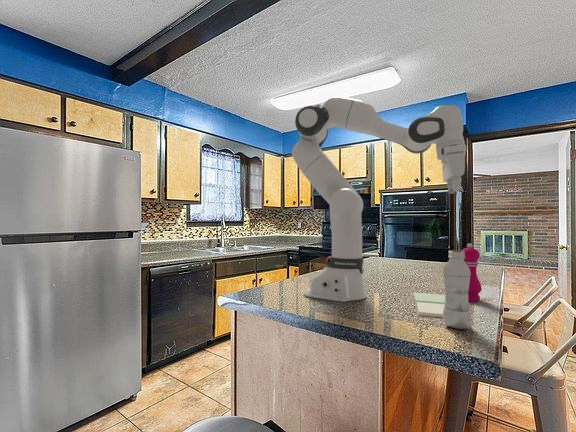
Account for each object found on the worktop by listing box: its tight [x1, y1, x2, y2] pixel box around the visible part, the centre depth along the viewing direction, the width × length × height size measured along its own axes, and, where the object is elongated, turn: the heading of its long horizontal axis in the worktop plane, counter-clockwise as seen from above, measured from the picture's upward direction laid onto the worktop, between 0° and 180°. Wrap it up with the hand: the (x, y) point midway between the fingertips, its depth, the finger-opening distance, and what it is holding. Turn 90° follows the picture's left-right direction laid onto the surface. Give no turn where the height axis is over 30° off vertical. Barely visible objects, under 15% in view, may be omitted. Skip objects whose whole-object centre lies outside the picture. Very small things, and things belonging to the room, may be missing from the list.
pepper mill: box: [461, 243, 483, 303], centre depth 111 cm, size 7×7×20 cm
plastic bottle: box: [442, 250, 472, 330], centre depth 82 cm, size 6×7×20 cm
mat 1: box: [413, 292, 445, 304], centre depth 109 cm, size 13×12×1 cm
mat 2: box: [415, 302, 444, 319], centre depth 96 cm, size 13×12×1 cm
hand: (454, 192), depth 108 cm, fingers open, 8 cm apart
